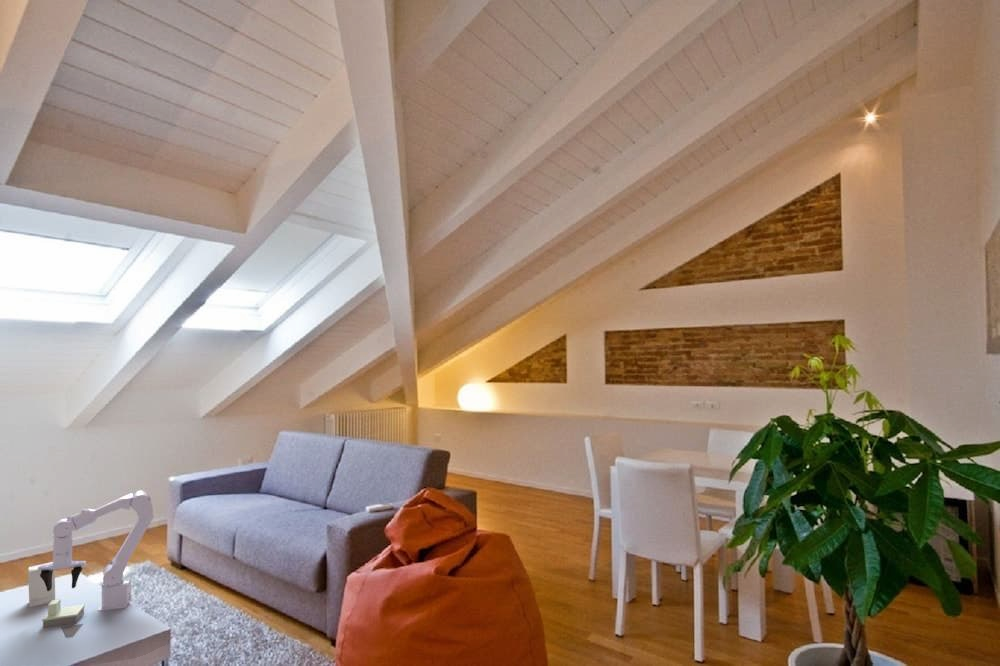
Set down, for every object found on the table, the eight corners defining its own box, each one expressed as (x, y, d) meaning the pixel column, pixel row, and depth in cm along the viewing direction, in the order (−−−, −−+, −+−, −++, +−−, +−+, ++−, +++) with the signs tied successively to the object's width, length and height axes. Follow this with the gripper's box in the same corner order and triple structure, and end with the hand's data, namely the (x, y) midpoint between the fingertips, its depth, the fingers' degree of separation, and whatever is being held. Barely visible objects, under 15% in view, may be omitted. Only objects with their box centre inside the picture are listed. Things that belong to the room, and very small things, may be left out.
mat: (83, 624, 205) (83, 623, 205) (72, 638, 196) (72, 636, 196) (42, 630, 201) (42, 629, 201) (30, 644, 191) (30, 643, 191)
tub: (84, 614, 213) (84, 606, 213) (76, 624, 206) (76, 615, 206) (51, 618, 210) (52, 610, 210) (42, 629, 202) (43, 620, 202)
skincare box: (55, 597, 227) (55, 560, 228) (55, 603, 223) (55, 565, 223) (28, 604, 222) (28, 566, 222) (27, 609, 217) (28, 570, 218)
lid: (84, 607, 213) (84, 593, 213) (76, 617, 205) (76, 603, 206) (51, 612, 210) (51, 598, 210) (42, 622, 202) (42, 607, 202)
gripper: (89, 546, 218) (88, 581, 218) (43, 550, 213) (42, 587, 213) (82, 552, 212) (81, 589, 211) (35, 557, 207) (34, 594, 206)
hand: (61, 588), depth 212 cm, fingers open, 7 cm apart
